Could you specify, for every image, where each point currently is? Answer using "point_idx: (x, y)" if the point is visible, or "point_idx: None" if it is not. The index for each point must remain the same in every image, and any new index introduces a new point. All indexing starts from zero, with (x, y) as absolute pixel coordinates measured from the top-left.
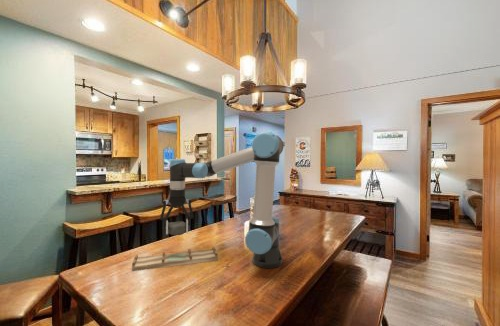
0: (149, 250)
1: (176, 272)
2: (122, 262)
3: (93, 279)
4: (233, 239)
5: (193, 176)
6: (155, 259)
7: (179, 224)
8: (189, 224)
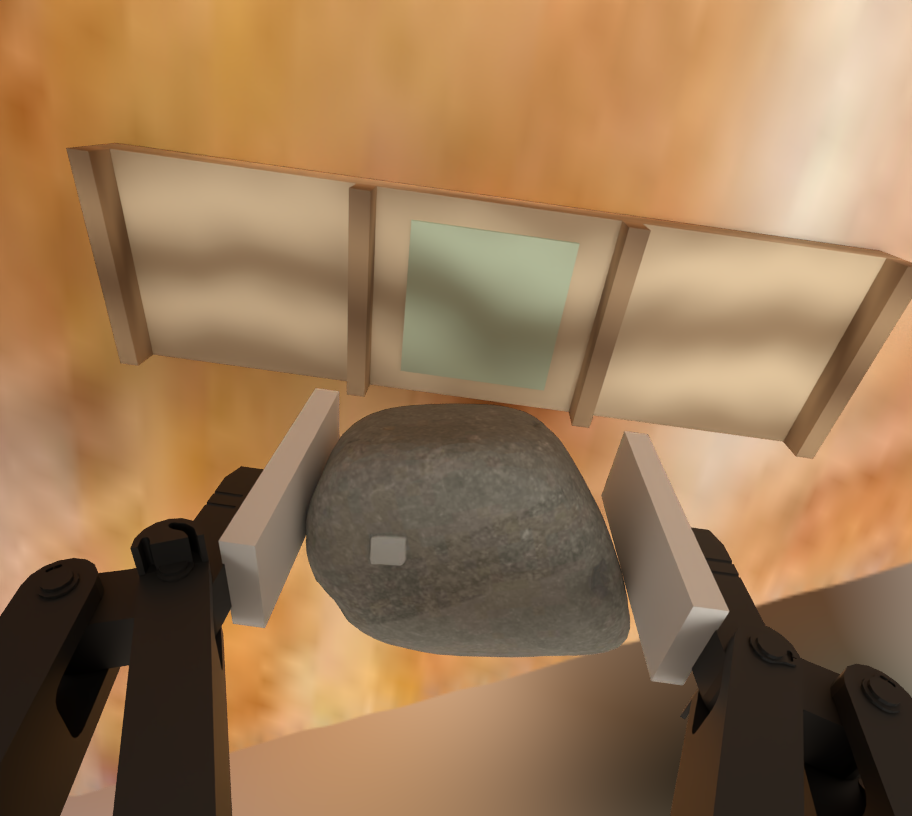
0: None
1: (537, 17)
2: (870, 450)
3: None
4: (5, 523)
5: None
6: (669, 340)
7: (433, 494)
8: (237, 480)
